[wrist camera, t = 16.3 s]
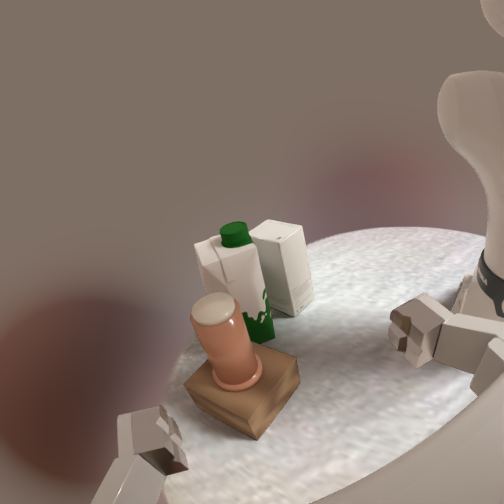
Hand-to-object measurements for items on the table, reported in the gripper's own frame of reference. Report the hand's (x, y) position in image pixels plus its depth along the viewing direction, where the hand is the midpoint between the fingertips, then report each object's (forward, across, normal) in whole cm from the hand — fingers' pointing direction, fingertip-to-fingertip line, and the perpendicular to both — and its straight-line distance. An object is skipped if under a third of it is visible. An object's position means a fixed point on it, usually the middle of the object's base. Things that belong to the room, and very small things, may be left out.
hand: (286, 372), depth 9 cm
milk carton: (+34, -3, +30) cm, 46 cm away
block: (+22, +1, +30) cm, 37 cm away
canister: (+22, +1, +24) cm, 32 cm away
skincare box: (+39, -12, +30) cm, 51 cm away
